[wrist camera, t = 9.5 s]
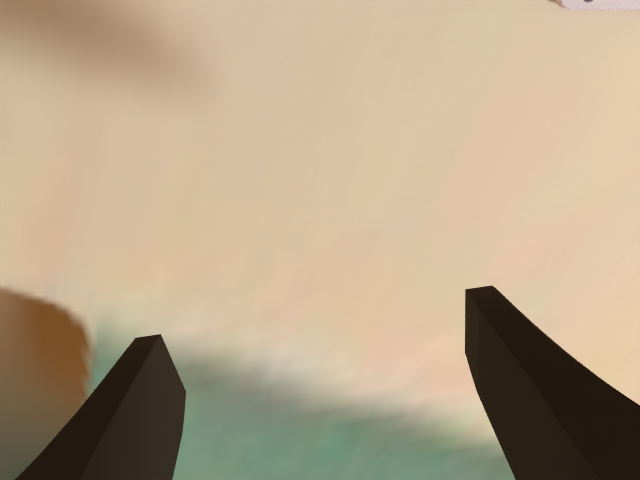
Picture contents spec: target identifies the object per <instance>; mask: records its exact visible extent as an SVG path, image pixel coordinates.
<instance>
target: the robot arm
mask: <svg viewBox="0 0 640 480" xmlns="http://www.w3.org/2000/svg"><path fill="white" fill-rule="evenodd" d="M556 3H557V4H558V5H559V6H560V7H562V8H565V9H569V10H617V11H640V0H556ZM465 354H466V357H467V361H468V364H469V367H470V371H471V374H472V377H473V380H474V383H475V387H476V390H477V393H478V395H479V397H480V400H481V402H482V404H483V407H484V409H485V411H486V413H487V416H488V418H489V420H490V423H491V425H492V427H493V429H494V432H495V434H496V436H497V438H498V441H499V443H500V445H501V447H502V450H503V452H504V454H505V456H506V459H507V461H508V463H509V465H510V468H511V470H512V472H513V474H514V477H515V479H516V480H640V405H638V404H637V403H635V402H634V401H632V400H631V399H629V398H628V397H626V396H625V395H623V394H622V393H620V392H619V391H617V390H616V389H614V388H613V387H612V386H610V385H609V384H607V383H606V382H605V381H603V380H602V379H601V378H599V377H598V376H597V375H595V374H594V373H593V372H591V371H590V370H589V369H587V368H586V367H585V366H583V365H582V364H581V363H580V362H578V361H577V360H576V359H574V358H573V357H572V356H571V355H570V354H568V353H567V352H566V351H565V350H563V349H562V348H561V347H560V346H559V345H558V344H556V343H555V342H554V341H553V340H552V339H550V338H549V337H548V336H547V335H546V334H545V333H543V332H542V331H541V330H540V329H539V328H538V327H537V326H535V325H534V324H533V323H532V322H531V321H530V320H529V319H528V318H527V317H526V316H525V315H523V314H522V313H521V312H520V311H519V310H518V309H517V308H516V307H515V306H514V305H513V304H512V303H511V302H510V301H509V300H508V299H507V298H505V297H504V296H503V295H502V294H501V293H500V292H499V291H498V290H497V289H496V288H495V287H493V286H486V287H479V288H472V289H466V294H465ZM185 398H186V391H185V389H184V386H183V384H182V382H181V379H180V377H179V375H178V373H177V370H176V368H175V366H174V363H173V361H172V359H171V357H170V354H169V352H168V350H167V347H166V345H165V343H164V341H163V338H162V336H161V334H159V335H152V336H146V337H139V338H135V339H134V341H133V342H132V343H131V344H130V346H129V347H128V348H127V349H126V351H125V352H124V353H123V355H122V356H121V357H120V358H119V360H118V361H117V362H116V364H115V365H114V366H113V367H112V369H111V370H110V371H109V373H108V374H107V375H106V376H105V378H104V379H103V380H102V381H101V383H100V384H99V385H98V387H97V388H96V389H95V390H94V392H93V393H92V394H91V395H90V397H89V398H88V399H87V400H86V401H85V403H84V404H83V405H82V406H81V408H80V409H79V410H78V412H77V413H76V414H75V415H74V416H73V417H72V418H71V419H70V421H69V422H68V423H67V424H66V425H65V426H64V427H63V429H62V430H61V431H60V432H59V433H58V434H57V436H56V437H55V438H54V439H53V440H52V441H51V442H50V443H49V445H48V446H47V447H46V448H45V449H44V450H43V451H42V453H40V455H39V456H38V457H37V458H36V459H35V460H34V461H33V462H32V463H31V464H30V465H29V466H28V467H27V468H26V469H25V470H24V472H22V473H21V474H20V475H19V476H18V477H17V478H16V479H15V480H172V478H173V474H174V469H175V465H176V460H177V456H178V451H179V446H180V442H181V437H182V431H183V422H184V411H185Z"/></svg>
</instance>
